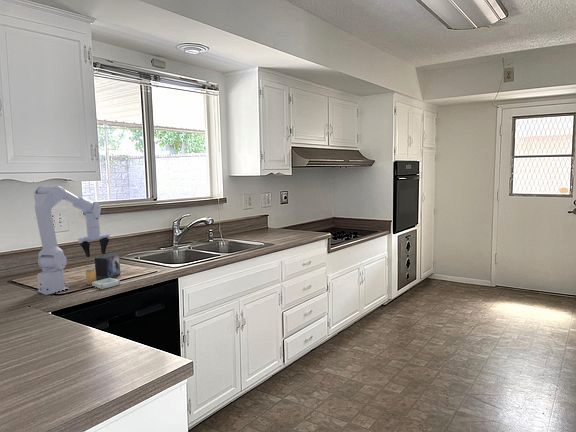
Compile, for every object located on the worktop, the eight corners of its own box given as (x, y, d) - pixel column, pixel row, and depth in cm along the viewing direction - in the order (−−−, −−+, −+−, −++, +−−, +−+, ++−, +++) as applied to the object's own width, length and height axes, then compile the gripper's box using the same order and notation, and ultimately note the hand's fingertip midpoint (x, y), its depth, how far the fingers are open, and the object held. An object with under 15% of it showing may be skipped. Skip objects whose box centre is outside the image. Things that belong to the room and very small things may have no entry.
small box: (108, 280, 197) (106, 258, 196) (95, 280, 198) (93, 258, 197) (121, 274, 207) (119, 253, 206) (109, 274, 209) (107, 253, 207)
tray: (101, 289, 183) (101, 285, 183) (91, 286, 189) (91, 282, 188) (120, 284, 190) (119, 280, 190) (110, 281, 195) (109, 277, 195)
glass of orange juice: (89, 285, 190) (88, 271, 189) (85, 284, 193) (83, 270, 192) (98, 283, 193) (97, 269, 192) (93, 282, 196) (92, 268, 195)
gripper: (103, 224, 214) (105, 251, 216) (73, 228, 203) (76, 257, 205) (111, 225, 210) (113, 253, 212) (81, 229, 199) (84, 258, 200)
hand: (95, 255), depth 208 cm, fingers open, 7 cm apart
